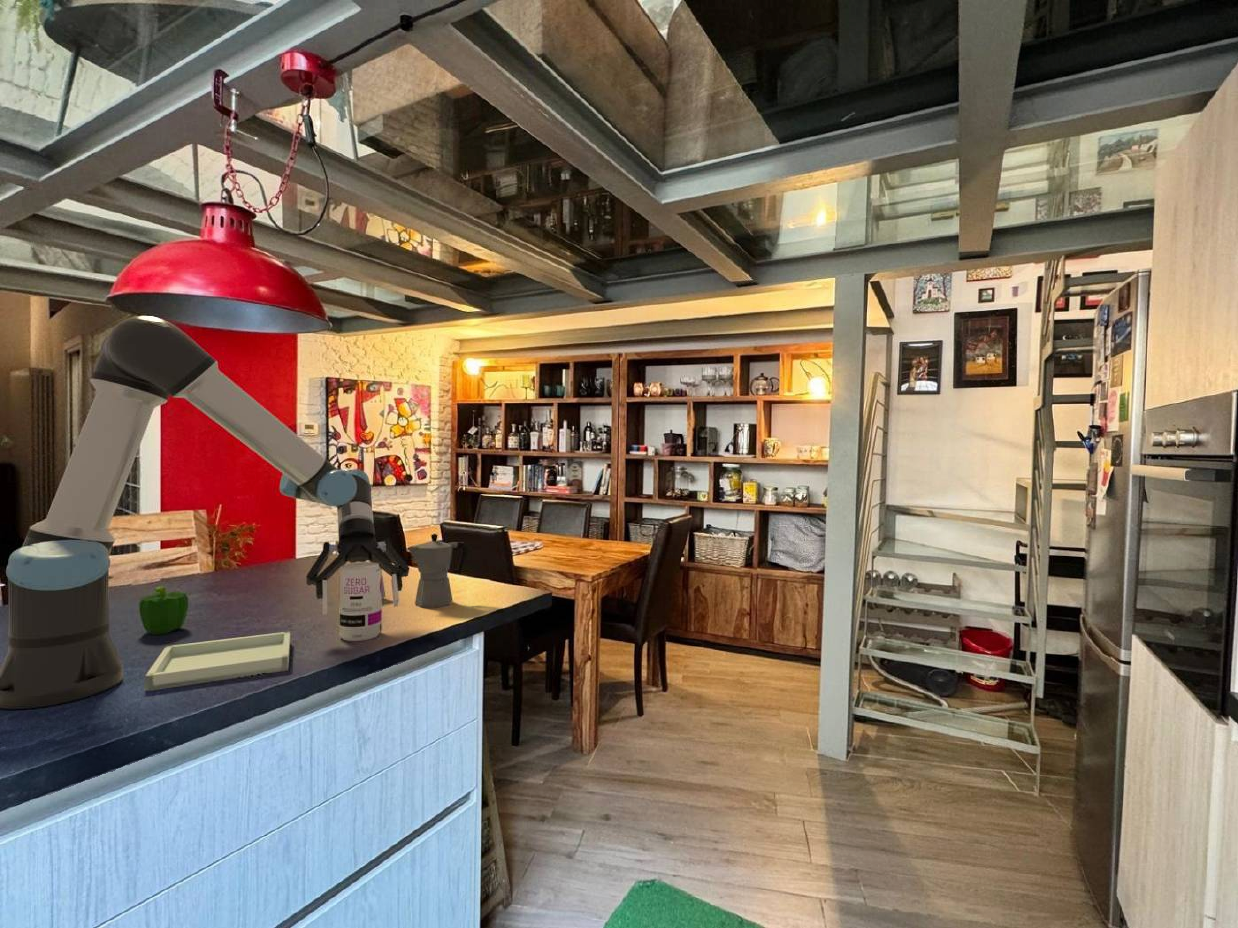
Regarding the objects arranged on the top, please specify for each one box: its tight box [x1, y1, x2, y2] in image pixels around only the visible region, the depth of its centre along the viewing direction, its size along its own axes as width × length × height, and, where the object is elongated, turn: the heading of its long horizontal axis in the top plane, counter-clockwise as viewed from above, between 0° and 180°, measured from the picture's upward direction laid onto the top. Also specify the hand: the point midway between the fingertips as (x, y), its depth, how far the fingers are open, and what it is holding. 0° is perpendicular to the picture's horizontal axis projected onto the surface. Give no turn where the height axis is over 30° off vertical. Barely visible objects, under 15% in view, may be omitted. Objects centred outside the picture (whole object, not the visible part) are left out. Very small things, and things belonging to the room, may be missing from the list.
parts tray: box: [144, 631, 291, 692], centre depth 104 cm, size 20×16×2 cm
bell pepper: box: [138, 586, 189, 635], centre depth 123 cm, size 8×8×10 cm
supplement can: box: [338, 561, 383, 642], centre depth 122 cm, size 8×8×15 cm
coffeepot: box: [406, 533, 470, 609], centre depth 149 cm, size 15×9×18 cm, turn 112°
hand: (361, 607), depth 120 cm, fingers open, 13 cm apart
